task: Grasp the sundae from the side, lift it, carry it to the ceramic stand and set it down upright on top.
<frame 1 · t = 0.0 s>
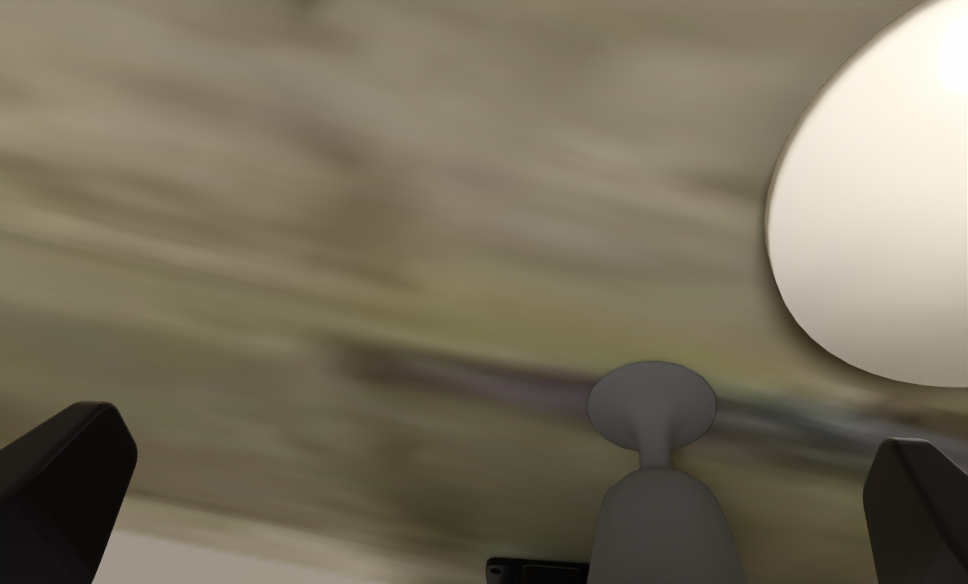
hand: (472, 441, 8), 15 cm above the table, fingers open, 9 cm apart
sundae: (651, 402, 28), on the table
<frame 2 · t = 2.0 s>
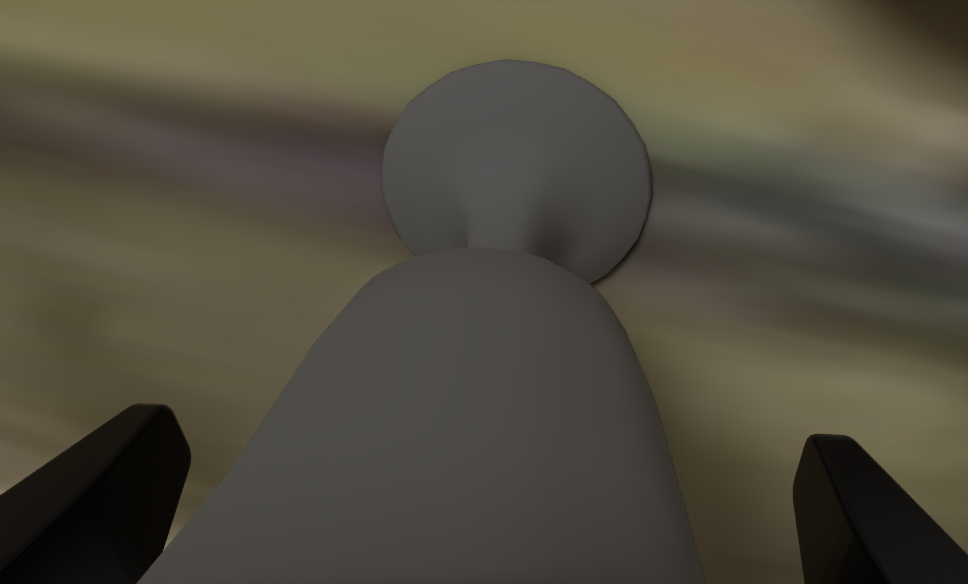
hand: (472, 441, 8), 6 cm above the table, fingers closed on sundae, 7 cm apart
sundae: (518, 185, 13), on the table, touching gripper
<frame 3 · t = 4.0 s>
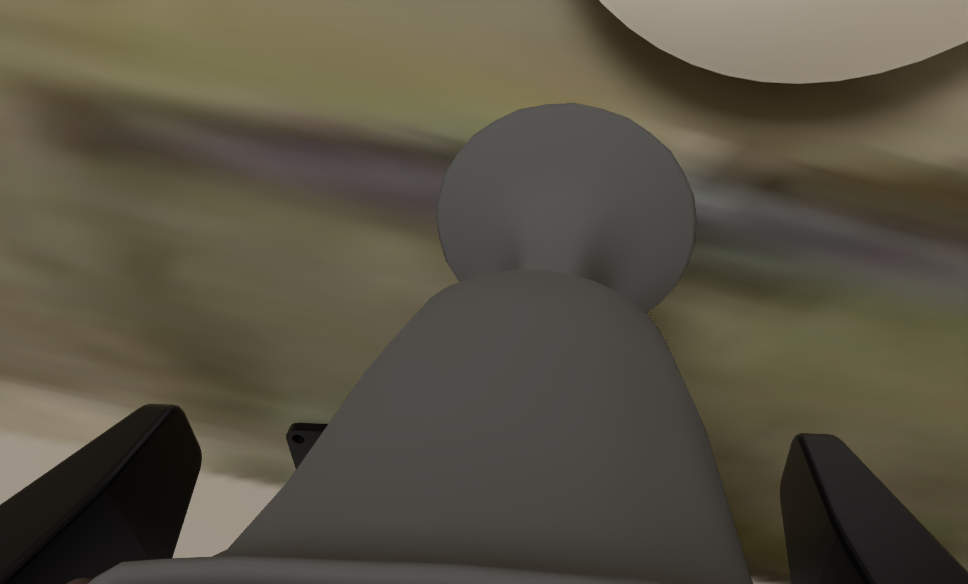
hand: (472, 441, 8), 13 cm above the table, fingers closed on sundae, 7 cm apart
sundae: (566, 222, 14), point 7 cm above the table, touching gripper
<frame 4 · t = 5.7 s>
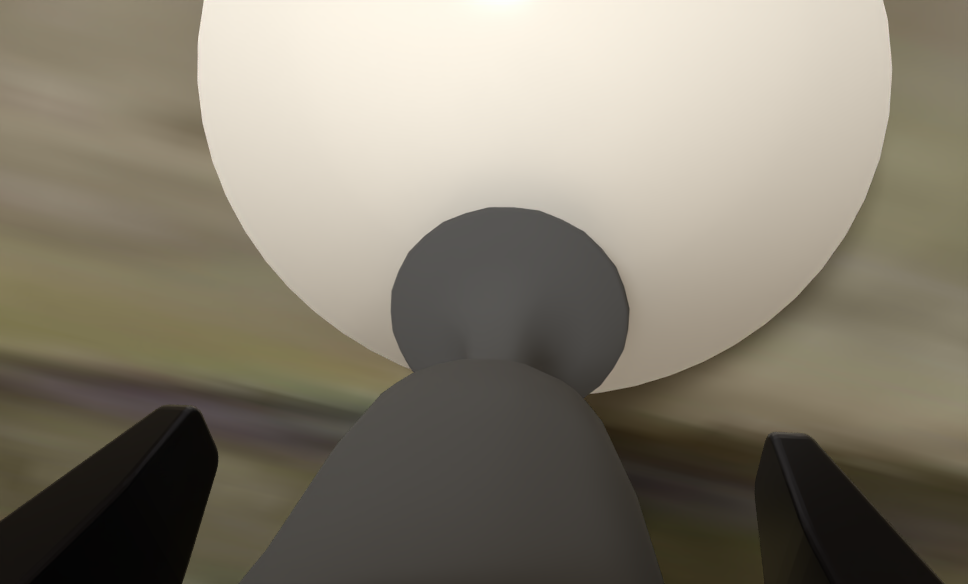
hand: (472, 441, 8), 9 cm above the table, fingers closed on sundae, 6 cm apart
stand: (531, 117, 16), on the table
sundae: (511, 312, 15), point 3 cm above the table, touching gripper
when the fingers open (9 cm above the table, at t = 6.2 s): sundae drops 1 cm, resting on stand.
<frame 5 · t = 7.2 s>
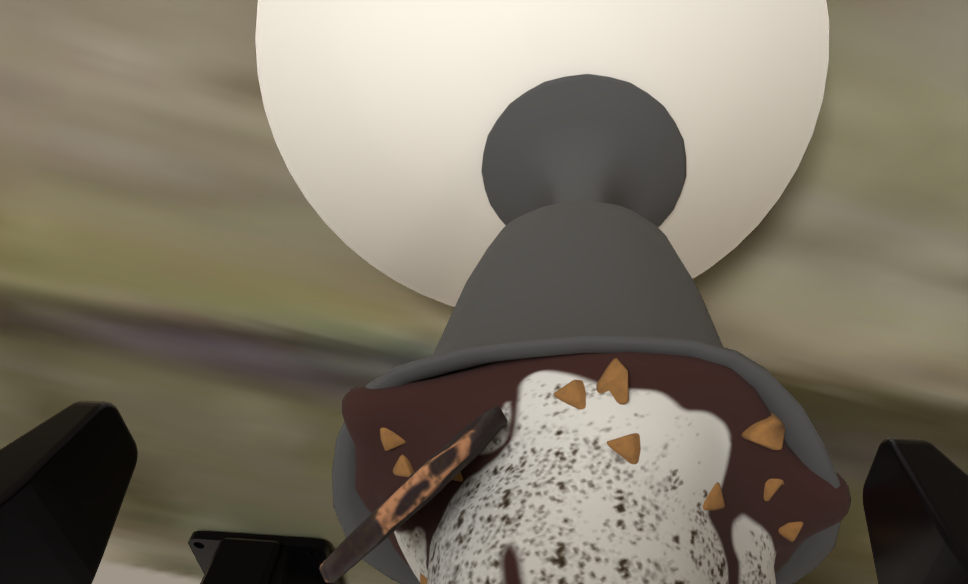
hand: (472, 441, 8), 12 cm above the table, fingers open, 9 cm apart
stand: (534, 73, 18), on the table
sundae: (584, 167, 18), point 2 cm above the table, touching stand
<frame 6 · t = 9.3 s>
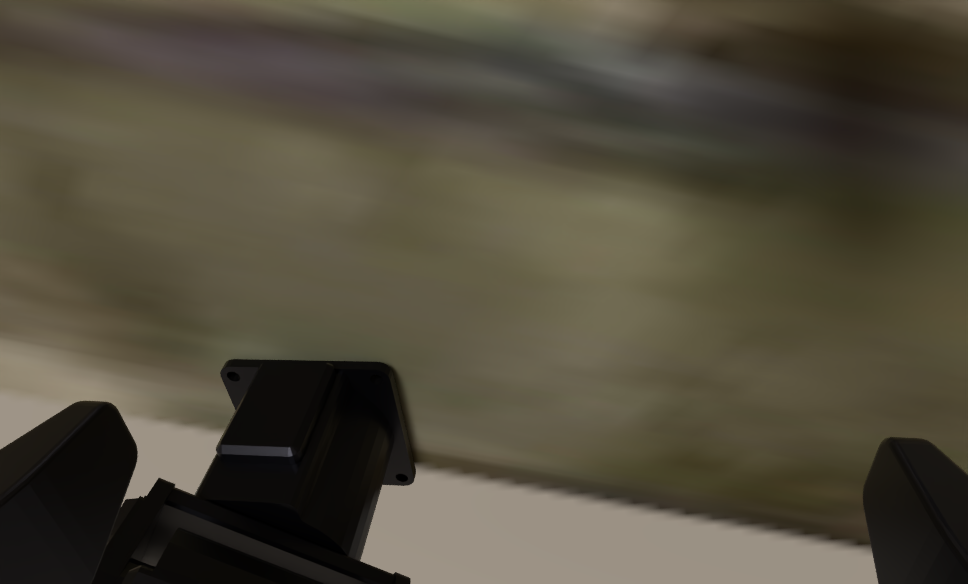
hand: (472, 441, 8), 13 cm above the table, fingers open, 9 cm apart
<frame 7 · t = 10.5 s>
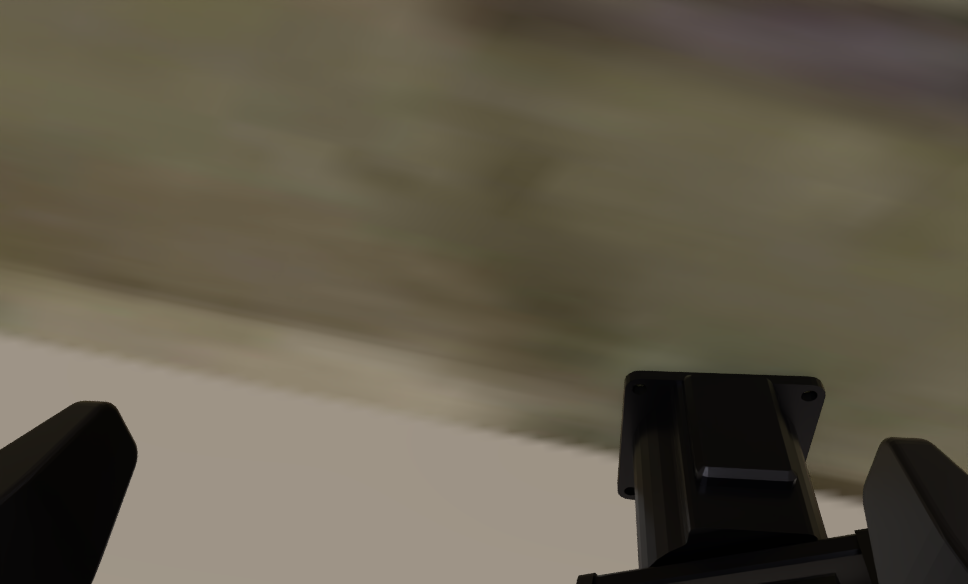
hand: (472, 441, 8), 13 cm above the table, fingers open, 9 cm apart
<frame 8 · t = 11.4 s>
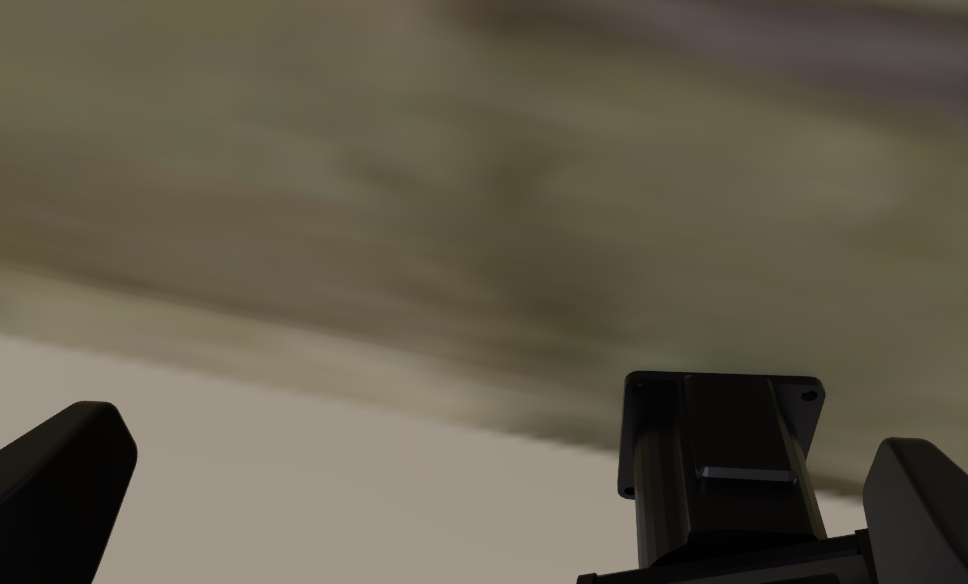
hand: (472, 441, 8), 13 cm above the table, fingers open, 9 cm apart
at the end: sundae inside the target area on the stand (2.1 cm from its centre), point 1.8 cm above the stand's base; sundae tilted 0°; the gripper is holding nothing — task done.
